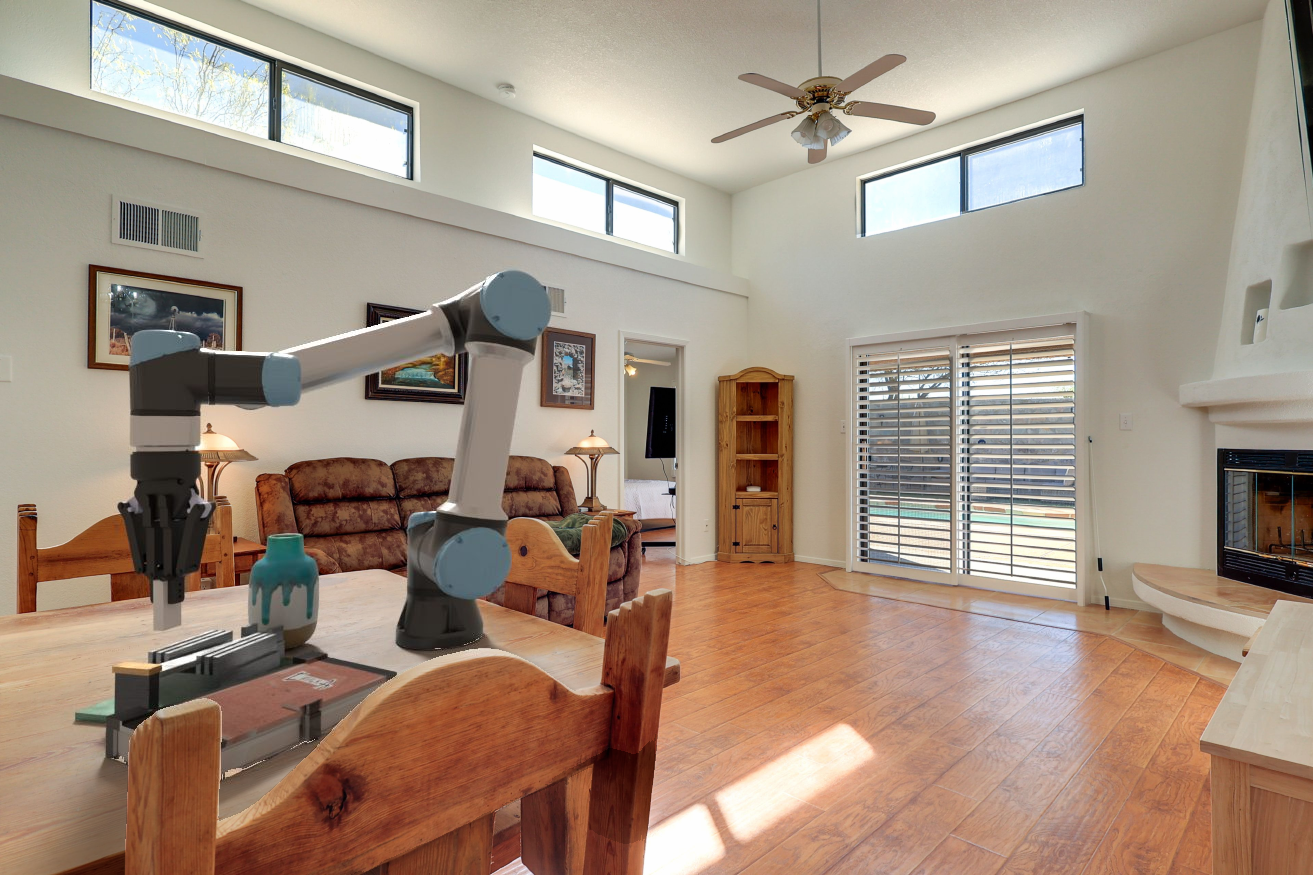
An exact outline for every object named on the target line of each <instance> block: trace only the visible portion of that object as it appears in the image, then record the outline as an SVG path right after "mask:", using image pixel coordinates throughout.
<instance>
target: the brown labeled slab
mask: <svg viewBox="0 0 1313 875" xmlns="http://www.w3.org/2000/svg"><path fill="white" fill-rule="evenodd" d="M292 658H293V664H291V665H288V666H285V667H282V668H279V669H276V670H272V671H269V672H266V673H263V674H260V675H257V676H254V677H251V678H248V679H245V680H242V681H239V682H236V683H233V684H230V685H227V686H224V687H221V688H218V689H215V690H211V691H208V692H205V693H202V694H199V695H196V696H193V697H190V698H187V699H184V700H181V701H178V702H175V703H172V704H169V705H166V706H163V707H160V708H157V709H154V710H151V709H147V708H144V707H141V706H137V707H133V708H130V709H127V710H124V711H121V712H118V713H115V714H111V715H108V716H106V724H105V757H106V758H108V759H110V758H114V759H119V757H120V756H122V759H123V757H124V762H126V764H125V765H126V766H129V765H128V752H129V740H130V737H131V735H132V734H133V733H134V731H135V729H136V728H137V726H138V725H139V724H141V723H142V722H143V721H144V720H146V719H147V718H149V717H150V716H152V715H153V714H154V713H155V712H156V711H158V710H160V709H163V708H166V707H170V706H174V705H179V704H183V703H185V702H189V701H192V700H196V699H202V698H207V699H211V700H213V701H215V702H217V703H218V704H219V705H220V706H221V711H222V742H221V782H223V781H224V779H225V772H228V770H231V769H236V768H242V769H244V768H247V767H249V766H251V765H253V764H255V763H257V762H260V761H263V760H267V759H269V760H271V759H273V758H276V757H278V756H279V755H282V754H284V753H286V751H287V752H289V751H291V750H292V749H291V748H293V747H294V746H296V745H299V744H300V743H302V742H304V741H307V742H309V741H312V740H314V739H315V741H317V740H319V738H321V737H322V736H324V735H327V734H328V733H330V731H331V730H332V729H333V728H334V727H335V726H336V725H337V724H338V723H339V722H340V721H341V720H342V719H344V718H345V717H346V716H347V715H348V714H349V713H350V711H352V710H353V709H354V708H355V707H356V706H357V705H358V704H360V702H362V701H363V700H364V699H365V698H366V697H367V696H368V695H369V694H371V693H372V692H373V691H375V690H376V689H377V688H378V687H380V686H381V685H382V684H384V683H385V682H387V681H388V680H390V679H392V678H393V677H395V676H396V675H397V676H398V671H395V670H390V669H386V668H381V667H376V666H372V665H368V664H367V665H366V664H363V663H357V662H354V661H348V660H345V659H339V658H333V657H330V656H328V653H327V652H323V651H317V650H310V651H307V652H304V653H300V654H297V655H294V656H292ZM395 678H396V677H395ZM393 679H394V678H393ZM393 679H392V680H393ZM331 732H332V731H331ZM290 749H291V750H290ZM293 749H294V748H293ZM288 750H289V751H288ZM277 755H278V756H277ZM275 756H276V757H275ZM270 758H271V759H270ZM267 761H268V760H267ZM222 774H223V781H222ZM225 780H226V779H225Z"/></svg>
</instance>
